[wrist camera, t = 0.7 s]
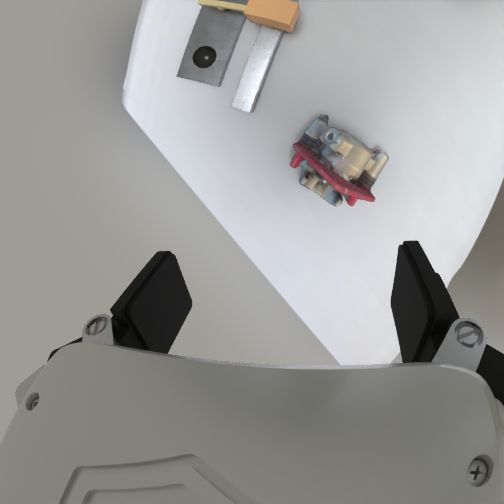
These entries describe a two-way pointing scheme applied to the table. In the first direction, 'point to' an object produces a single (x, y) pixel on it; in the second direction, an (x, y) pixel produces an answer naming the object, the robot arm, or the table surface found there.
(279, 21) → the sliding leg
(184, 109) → the table surface
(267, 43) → the rail
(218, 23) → the strip
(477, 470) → the robot arm
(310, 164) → the brake caliper
